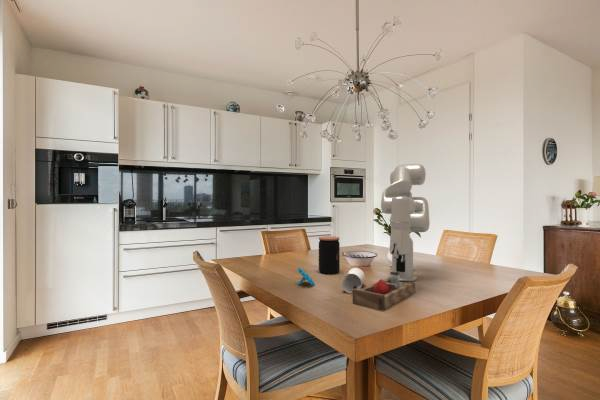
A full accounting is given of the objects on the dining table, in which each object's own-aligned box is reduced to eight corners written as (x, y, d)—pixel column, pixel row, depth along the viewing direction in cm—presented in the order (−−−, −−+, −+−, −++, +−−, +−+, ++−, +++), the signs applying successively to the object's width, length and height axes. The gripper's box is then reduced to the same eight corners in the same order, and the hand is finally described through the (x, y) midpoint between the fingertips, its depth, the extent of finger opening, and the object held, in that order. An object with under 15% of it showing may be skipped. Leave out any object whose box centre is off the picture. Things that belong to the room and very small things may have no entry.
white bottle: (367, 283, 147) (367, 265, 147) (361, 294, 129) (361, 274, 129) (349, 281, 149) (349, 264, 149) (341, 292, 132) (341, 272, 132)
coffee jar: (340, 274, 163) (340, 238, 163) (319, 274, 163) (319, 238, 163) (338, 270, 173) (338, 236, 173) (318, 270, 173) (318, 236, 173)
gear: (315, 284, 138) (298, 267, 139) (305, 294, 138) (288, 277, 139) (316, 281, 149) (301, 265, 150) (307, 291, 148) (292, 274, 150)
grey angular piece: (393, 287, 137) (393, 268, 137) (409, 290, 133) (409, 271, 133) (378, 294, 128) (378, 274, 128) (395, 298, 123) (395, 277, 123)
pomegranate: (371, 297, 125) (371, 276, 125) (386, 297, 125) (386, 276, 125) (376, 302, 119) (376, 280, 119) (391, 302, 119) (391, 280, 119)
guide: (388, 287, 139) (388, 275, 139) (415, 292, 131) (415, 280, 131) (352, 303, 118) (352, 289, 118) (382, 310, 110) (382, 295, 110)
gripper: (399, 225, 142) (399, 268, 142) (383, 226, 131) (383, 272, 131) (416, 226, 138) (417, 270, 137) (401, 227, 126) (401, 275, 126)
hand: (400, 271), depth 134 cm, fingers closed
